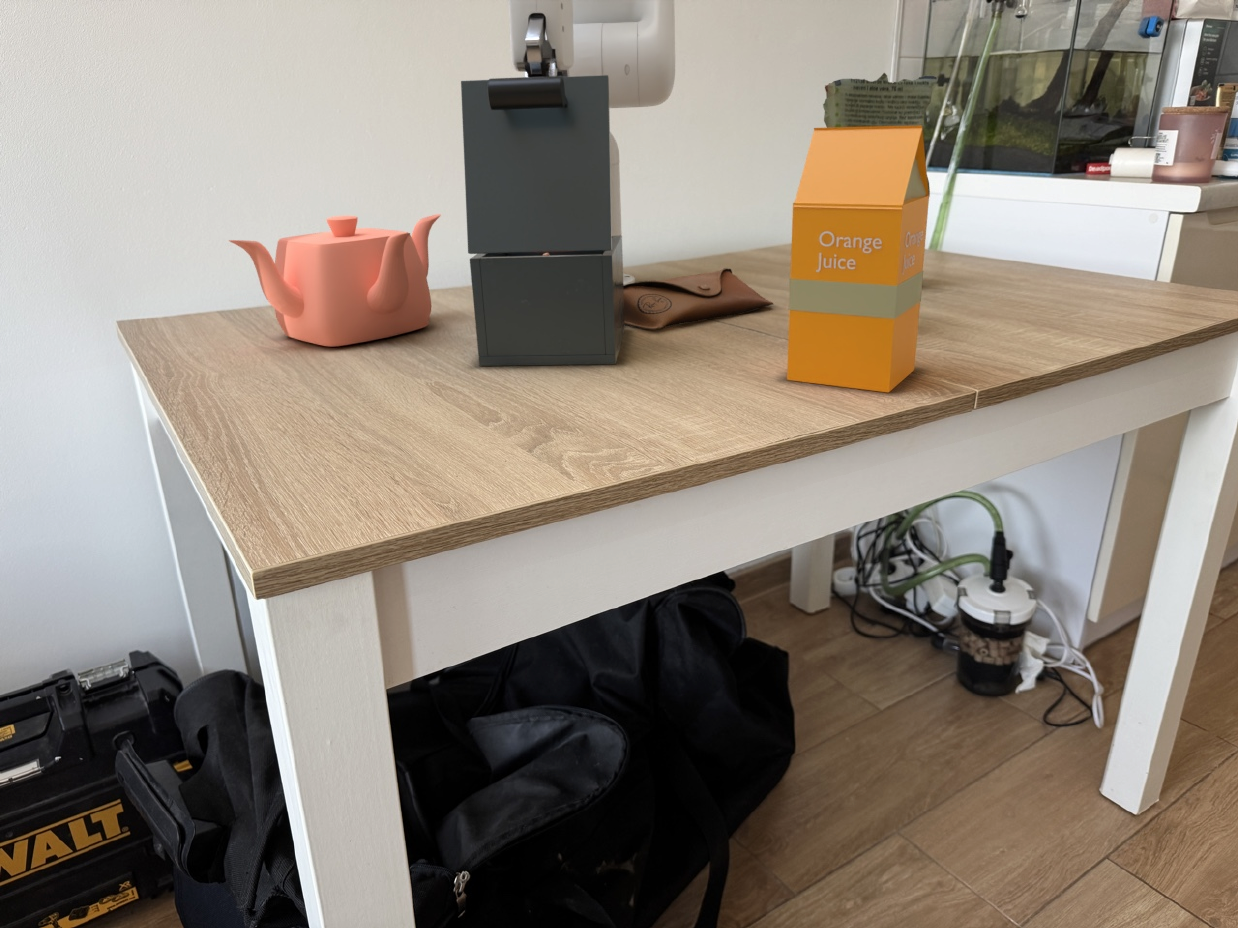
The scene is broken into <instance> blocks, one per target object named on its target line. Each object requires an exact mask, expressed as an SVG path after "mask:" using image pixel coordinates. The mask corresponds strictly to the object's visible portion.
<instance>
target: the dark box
mask: <svg viewBox="0 0 1238 928" xmlns="http://www.w3.org/2000/svg"><path fill="white" fill-rule="evenodd" d="M545 253H549V255H550V256H542V255H543V254H545ZM623 259H624V257H623V235H622V236H612V251H576V252H534V253H492V254H474V255H473V256H471V257H470V258H469V268H470V279H471V290H472V301H473V311H474V313H473V314H474V321H475V322H474V323H475V332H476V333H475V334H476V335H475V336H476V343H477V355H478V366H479V367H504V366H505V367H506V366H507V367H509V366H512V367H514V366H515V367H516V366H575V365H576V366H577V365H581V366H582V365H616V364H617V361H618V357H619V353H620V349H621V346H622V342H623V338H624V335H625V331H626V325H625V318H624V286H623V274H624V260H623Z"/></svg>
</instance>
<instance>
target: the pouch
mask: <svg viewBox="0 0 1238 928" xmlns="http://www.w3.org/2000/svg"><path fill="white" fill-rule="evenodd" d="M938 81H939V78H938V76H934V75H932V73H929V74H924V75H922V76H918V77H917V78H916V79H912V80H911V79H904V78H903V79H900V80H898V81H893V82H892V81H889V79H888V75H887V74H886V73H885V72H883V73H882V74H881V76H879V77H878V78H877V79H875V80H873V81H872V80H871V81H870V80H868V79H865V78H840V79H836V80H833V81H832V82H830V83H828V84H827V85H826V84H825V85H824V91H825V93H826V94H825V95H826V98H825V100H824V103H822V107H823V109H824V114H823V122H824V124H825V126H826V127H825V128H832V127H876V126H919V125H922V130H923V131H924V129H925V112H926V110H927V108H928V107H929V105H930V104H931V102H932V96H933V87H934V86H935V85H936V84H937V82H938ZM927 182H928V192H929V198H930V196H931V191H930V190H931V189H930V180H929V177H928V176H927Z"/></svg>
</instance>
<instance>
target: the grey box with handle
mask: <svg viewBox="0 0 1238 928" xmlns="http://www.w3.org/2000/svg"><path fill="white" fill-rule="evenodd" d="M460 90H461V92H460V93H461V117H462V140H463V164H464V188H465V211H466V212H465V213H466V215H465V216H466V236H467V237H466V238H467V254H470V255H476V254H492V253H534V252H576V251H612V220H611V166H610V132H611V121H610V120H611V119H610V117H611V116H610V115H611V114H610V108H609V77H608V75H601V76H575V77H562V76H545V77H525V76H521V77H497V78H496V77H495V78H494V77H493V78H489V79H476V80H475V79H474V80H473V79H471V80H470V79H469V80H460Z"/></svg>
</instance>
